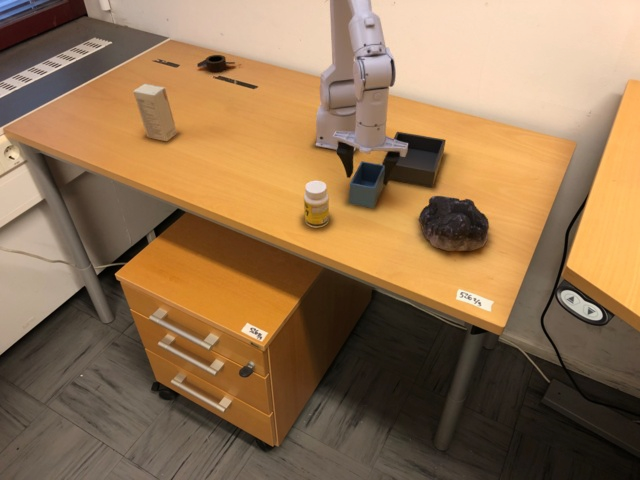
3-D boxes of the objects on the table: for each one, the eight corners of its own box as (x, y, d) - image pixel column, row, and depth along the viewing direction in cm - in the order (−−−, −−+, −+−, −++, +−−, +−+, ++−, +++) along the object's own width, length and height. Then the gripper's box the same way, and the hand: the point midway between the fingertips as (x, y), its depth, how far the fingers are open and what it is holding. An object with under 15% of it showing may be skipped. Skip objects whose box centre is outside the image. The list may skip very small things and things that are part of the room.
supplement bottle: (304, 213, 104) (302, 179, 98) (327, 212, 104) (327, 178, 98) (305, 229, 100) (304, 195, 94) (329, 227, 100) (329, 193, 95)
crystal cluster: (441, 204, 106) (442, 164, 99) (504, 226, 99) (510, 185, 92) (405, 242, 99) (404, 202, 93) (470, 269, 92) (474, 228, 85)
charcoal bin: (381, 177, 112) (382, 162, 109) (395, 146, 121) (396, 131, 118) (432, 187, 109) (435, 172, 106) (443, 154, 118) (445, 139, 116)
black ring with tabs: (211, 60, 158) (209, 51, 156) (238, 66, 154) (236, 57, 153) (195, 70, 153) (193, 60, 151) (223, 76, 150) (221, 67, 148)
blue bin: (373, 208, 104) (374, 188, 101) (348, 203, 106) (349, 183, 102) (383, 184, 110) (385, 165, 107) (360, 180, 111) (361, 161, 108)
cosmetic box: (177, 133, 127) (166, 87, 118) (166, 142, 124) (155, 95, 116) (156, 128, 129) (144, 82, 120) (145, 136, 126) (132, 90, 118)
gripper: (327, 123, 95) (327, 182, 104) (404, 136, 91) (398, 196, 101) (339, 105, 100) (338, 164, 109) (413, 117, 96) (406, 176, 105)
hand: (367, 178), depth 105 cm, fingers open, 7 cm apart
